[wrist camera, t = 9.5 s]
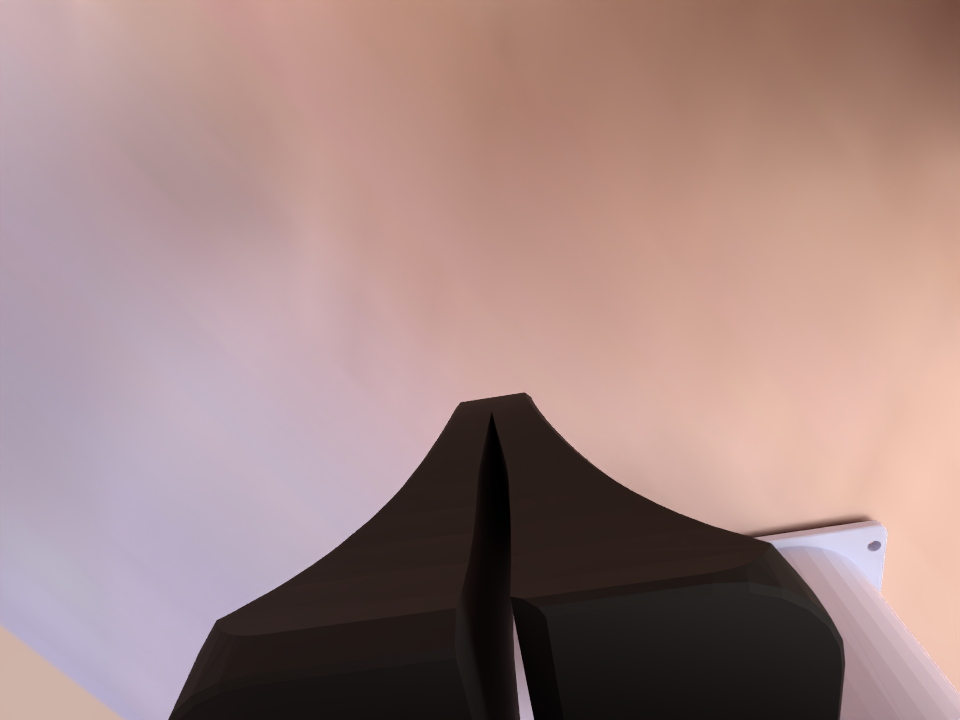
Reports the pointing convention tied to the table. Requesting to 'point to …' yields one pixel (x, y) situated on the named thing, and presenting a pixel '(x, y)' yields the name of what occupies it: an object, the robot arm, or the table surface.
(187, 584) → the table surface
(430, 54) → the table surface
